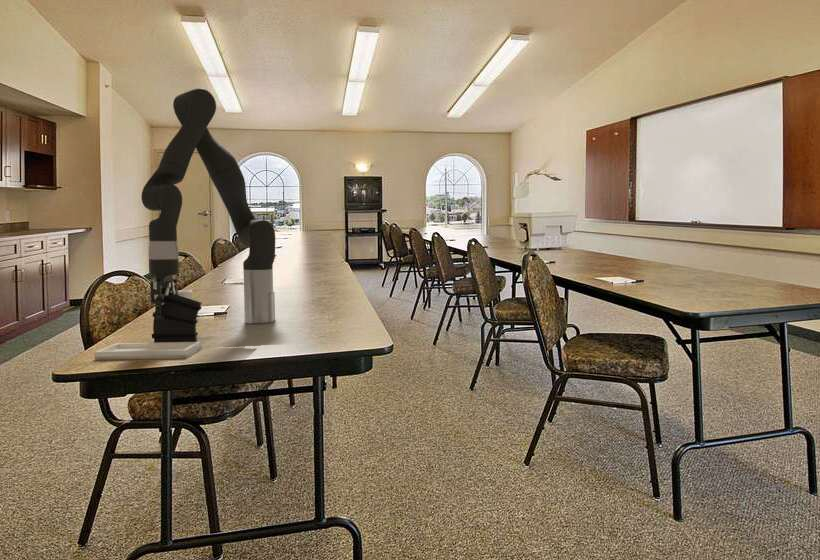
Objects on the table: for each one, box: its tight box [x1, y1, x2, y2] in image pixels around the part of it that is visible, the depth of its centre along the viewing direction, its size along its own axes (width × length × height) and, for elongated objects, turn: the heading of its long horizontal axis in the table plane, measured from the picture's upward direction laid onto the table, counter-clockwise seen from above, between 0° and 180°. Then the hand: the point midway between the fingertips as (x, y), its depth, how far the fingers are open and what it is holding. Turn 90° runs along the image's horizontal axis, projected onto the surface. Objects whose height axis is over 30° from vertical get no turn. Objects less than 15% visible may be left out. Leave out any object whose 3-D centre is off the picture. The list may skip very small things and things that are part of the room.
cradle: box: [94, 341, 202, 361], centre depth 147 cm, size 22×12×2 cm, turn 94°
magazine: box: [151, 293, 202, 343], centre depth 159 cm, size 4×13×15 cm, turn 100°
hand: (165, 317), depth 158 cm, fingers open, 7 cm apart
